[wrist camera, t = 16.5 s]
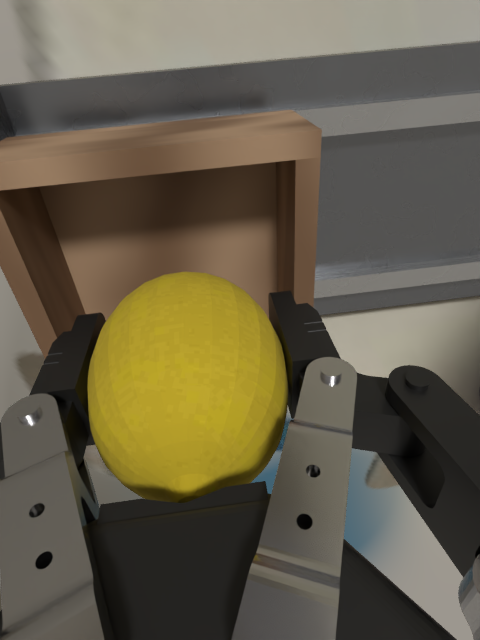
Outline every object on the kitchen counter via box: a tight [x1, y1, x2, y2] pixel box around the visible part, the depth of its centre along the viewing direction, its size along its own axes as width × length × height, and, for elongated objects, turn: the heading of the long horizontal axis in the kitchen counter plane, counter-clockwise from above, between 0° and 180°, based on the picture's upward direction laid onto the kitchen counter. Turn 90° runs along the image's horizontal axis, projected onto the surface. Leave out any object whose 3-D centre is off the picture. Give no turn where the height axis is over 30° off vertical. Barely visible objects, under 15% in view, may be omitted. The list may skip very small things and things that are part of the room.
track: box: [0, 41, 480, 315], centre depth 21 cm, size 28×14×3 cm, turn 94°
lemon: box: [88, 272, 288, 503], centre depth 11 cm, size 6×6×8 cm
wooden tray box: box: [0, 110, 322, 359], centre depth 17 cm, size 11×11×6 cm
